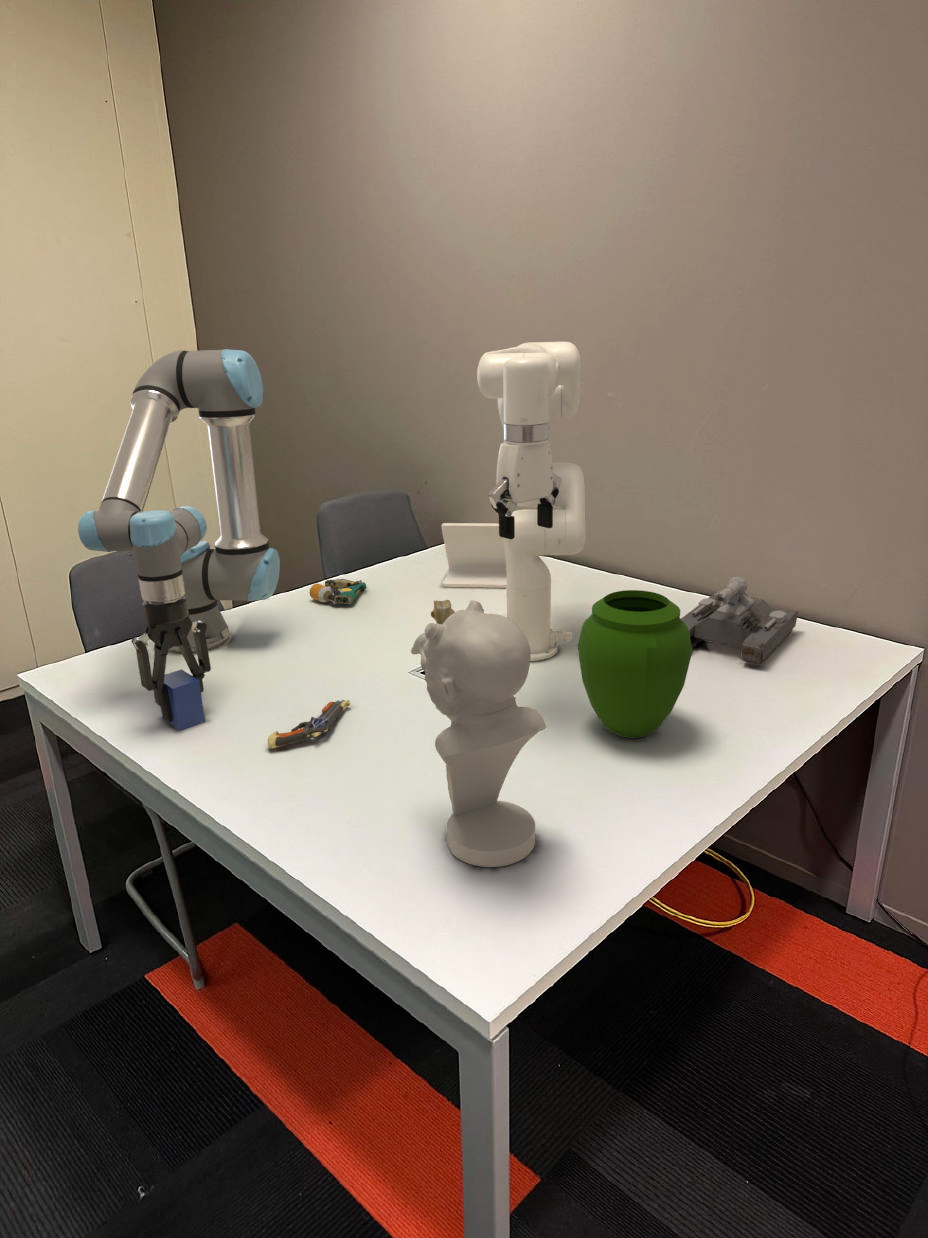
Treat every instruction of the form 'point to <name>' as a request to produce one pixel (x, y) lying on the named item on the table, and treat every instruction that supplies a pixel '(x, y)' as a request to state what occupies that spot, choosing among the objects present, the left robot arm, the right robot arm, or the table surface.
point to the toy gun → (309, 726)
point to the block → (184, 699)
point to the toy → (740, 622)
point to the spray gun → (337, 591)
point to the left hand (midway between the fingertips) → (182, 713)
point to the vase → (634, 660)
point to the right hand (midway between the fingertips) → (526, 532)
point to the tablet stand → (474, 555)
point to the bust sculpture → (481, 729)
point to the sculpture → (441, 611)
